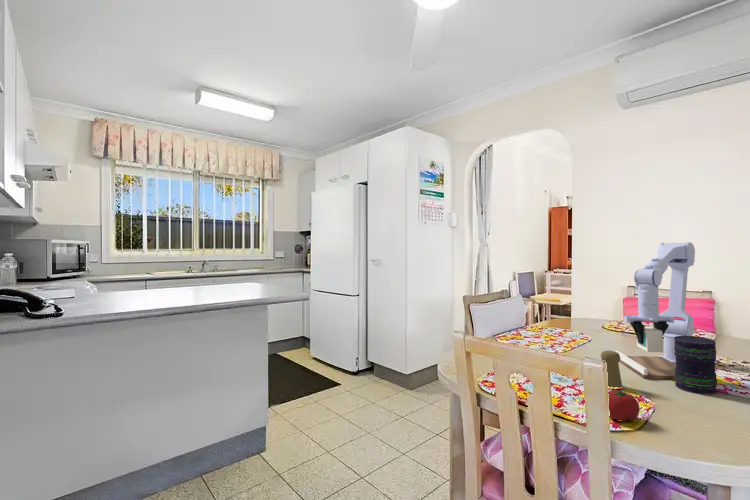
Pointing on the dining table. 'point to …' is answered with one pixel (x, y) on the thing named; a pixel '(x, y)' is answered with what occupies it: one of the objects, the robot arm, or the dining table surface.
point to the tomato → (622, 406)
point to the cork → (612, 368)
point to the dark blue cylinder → (695, 364)
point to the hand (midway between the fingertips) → (649, 343)
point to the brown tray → (649, 366)
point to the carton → (652, 340)
